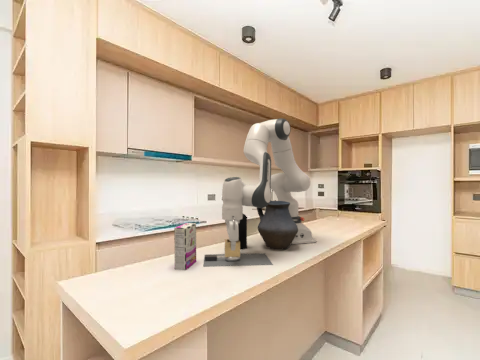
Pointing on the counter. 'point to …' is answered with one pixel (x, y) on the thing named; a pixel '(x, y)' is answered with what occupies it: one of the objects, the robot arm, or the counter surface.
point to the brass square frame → (229, 252)
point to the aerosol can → (243, 232)
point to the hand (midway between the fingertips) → (232, 247)
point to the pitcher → (277, 225)
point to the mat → (241, 260)
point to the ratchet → (221, 258)
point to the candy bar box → (185, 246)
